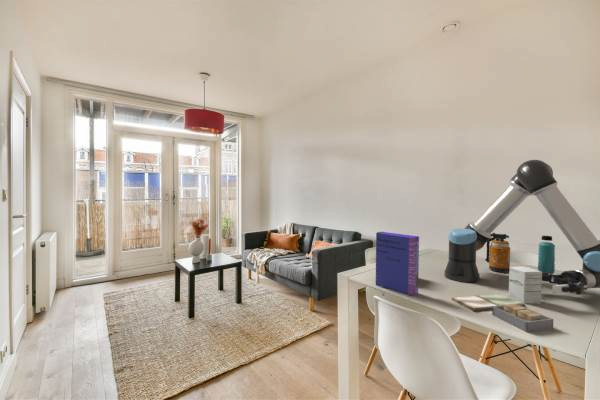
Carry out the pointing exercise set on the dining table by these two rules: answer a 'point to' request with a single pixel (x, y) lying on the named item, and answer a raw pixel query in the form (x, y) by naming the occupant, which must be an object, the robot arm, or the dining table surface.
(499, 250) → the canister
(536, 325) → the grey tray
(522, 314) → the oak block
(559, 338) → the dining table surface
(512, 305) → the oak block
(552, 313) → the dining table surface
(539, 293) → the supplement box
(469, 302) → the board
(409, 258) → the cereal box
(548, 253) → the beverage bottle
